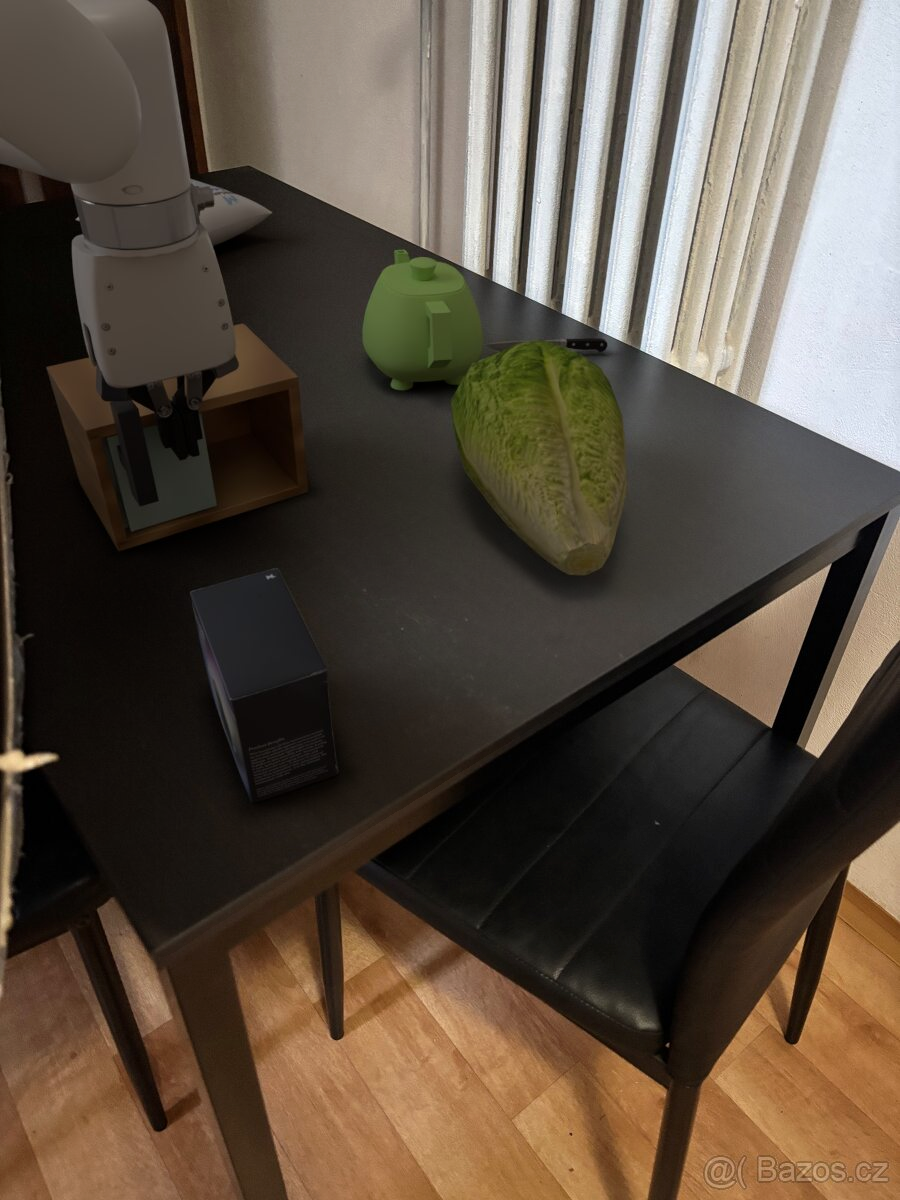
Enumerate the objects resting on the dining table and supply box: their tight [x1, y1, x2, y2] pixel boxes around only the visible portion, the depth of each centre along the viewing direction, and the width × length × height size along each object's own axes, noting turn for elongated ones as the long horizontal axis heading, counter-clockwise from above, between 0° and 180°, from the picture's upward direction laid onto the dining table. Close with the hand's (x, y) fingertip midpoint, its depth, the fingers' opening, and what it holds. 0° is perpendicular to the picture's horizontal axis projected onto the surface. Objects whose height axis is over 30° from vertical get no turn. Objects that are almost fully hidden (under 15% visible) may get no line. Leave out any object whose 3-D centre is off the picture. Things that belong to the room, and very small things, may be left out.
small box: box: [189, 567, 340, 804], centre depth 60 cm, size 11×6×10 cm, turn 25°
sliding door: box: [106, 400, 217, 532], centre depth 75 cm, size 8×4×13 cm, turn 122°
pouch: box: [75, 178, 274, 247], centre depth 129 cm, size 8×19×20 cm
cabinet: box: [46, 323, 309, 552], centre depth 82 cm, size 18×12×12 cm, turn 122°
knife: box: [484, 337, 609, 353], centre depth 107 cm, size 15×1×2 cm, turn 95°
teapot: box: [361, 249, 484, 391], centre depth 101 cm, size 20×13×13 cm
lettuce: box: [450, 339, 628, 576], centre depth 80 cm, size 14×24×15 cm
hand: (183, 449), depth 73 cm, fingers closed
